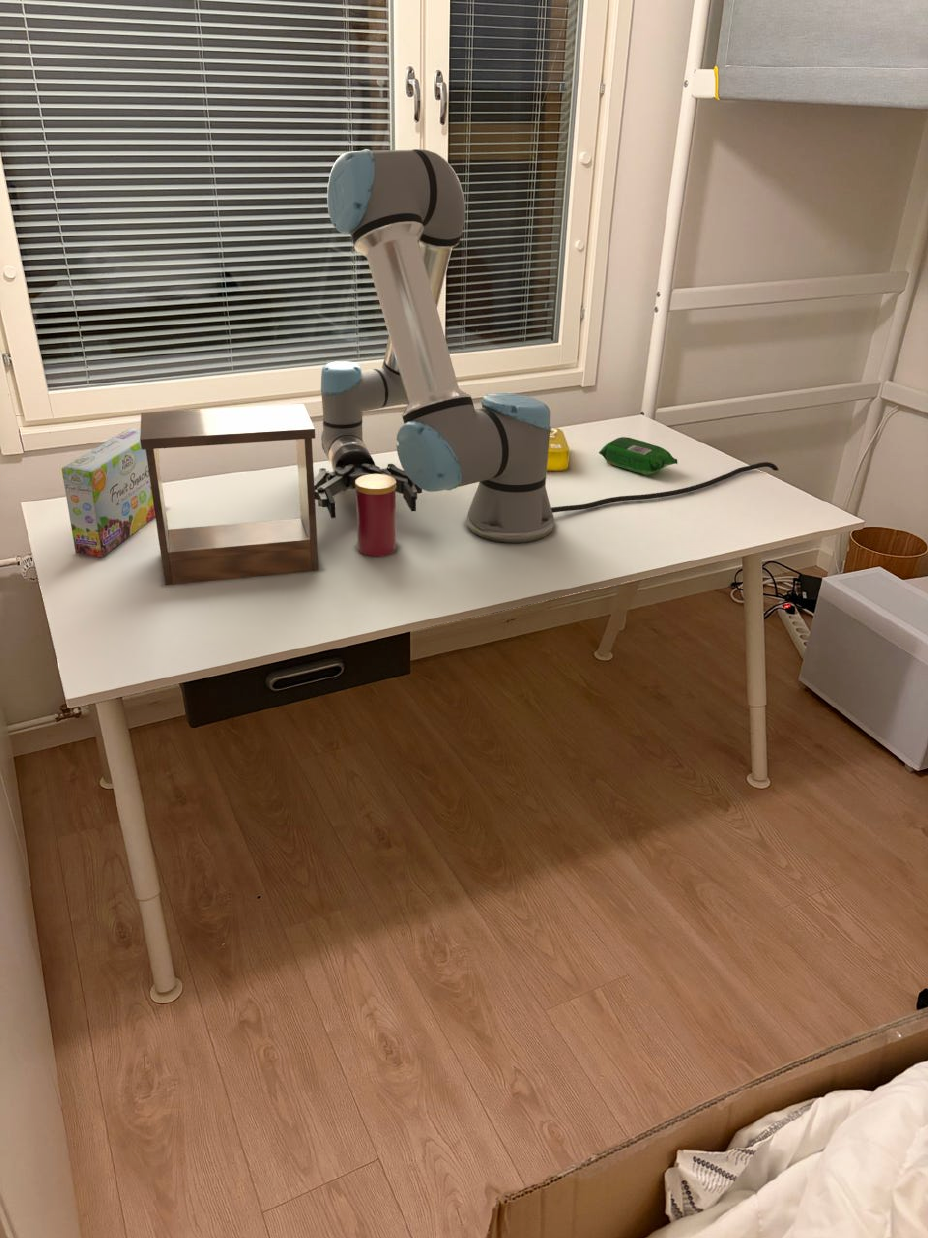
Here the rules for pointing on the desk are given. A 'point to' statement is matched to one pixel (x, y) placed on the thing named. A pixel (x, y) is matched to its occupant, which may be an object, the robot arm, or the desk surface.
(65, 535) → the desk surface
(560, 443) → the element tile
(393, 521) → the cylinder
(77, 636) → the desk surface
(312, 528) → the shelf
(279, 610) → the desk surface
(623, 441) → the snack package
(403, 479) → the robot arm
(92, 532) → the snack box
